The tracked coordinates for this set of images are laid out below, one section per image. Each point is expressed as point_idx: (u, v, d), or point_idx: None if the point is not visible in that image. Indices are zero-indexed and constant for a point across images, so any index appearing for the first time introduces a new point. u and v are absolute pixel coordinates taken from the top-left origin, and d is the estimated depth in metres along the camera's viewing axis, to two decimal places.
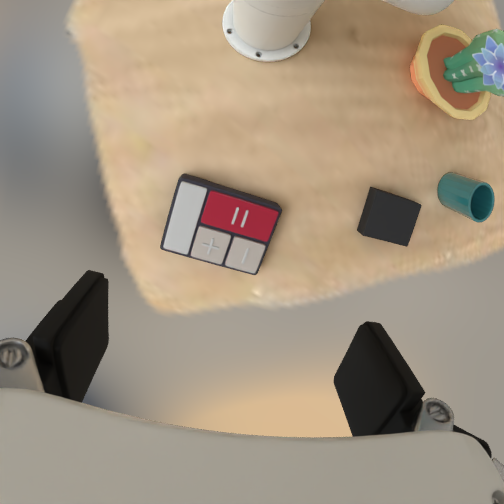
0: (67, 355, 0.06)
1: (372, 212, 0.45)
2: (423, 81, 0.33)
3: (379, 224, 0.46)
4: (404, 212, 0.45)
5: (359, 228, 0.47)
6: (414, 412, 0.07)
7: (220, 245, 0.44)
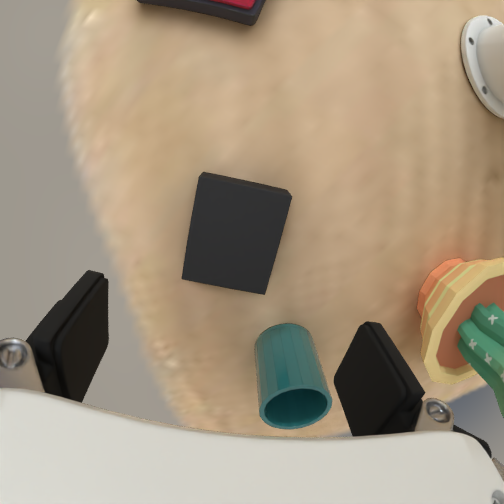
0: (67, 355, 0.06)
1: (248, 192, 0.24)
2: (480, 268, 0.22)
3: (222, 210, 0.24)
4: (248, 261, 0.26)
5: (207, 174, 0.25)
6: (414, 412, 0.07)
7: None
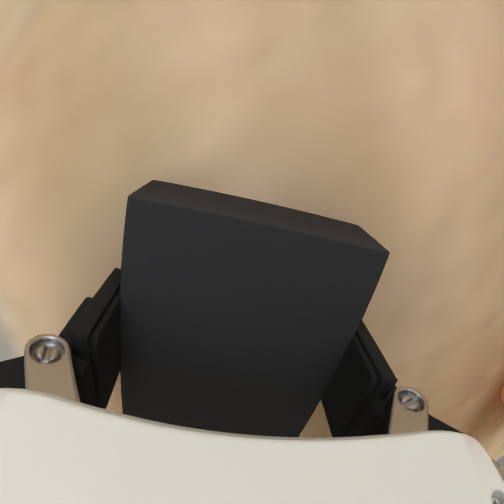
0: (102, 350, 0.07)
1: (274, 241, 0.08)
2: None
3: (199, 290, 0.09)
4: (267, 397, 0.10)
5: (160, 186, 0.09)
6: (387, 400, 0.08)
7: None
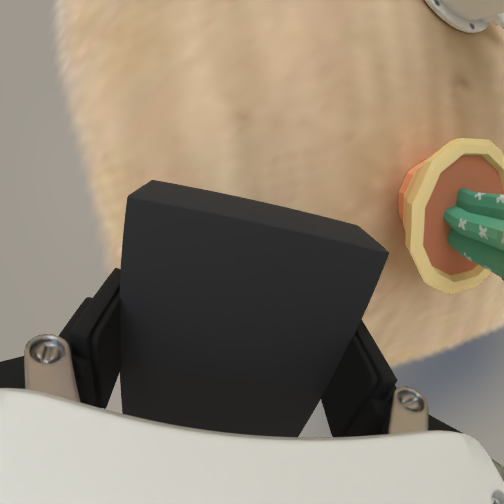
0: (102, 350, 0.07)
1: (274, 241, 0.08)
2: (454, 141, 0.21)
3: (198, 291, 0.09)
4: (266, 397, 0.10)
5: (159, 186, 0.09)
6: (387, 400, 0.08)
7: None
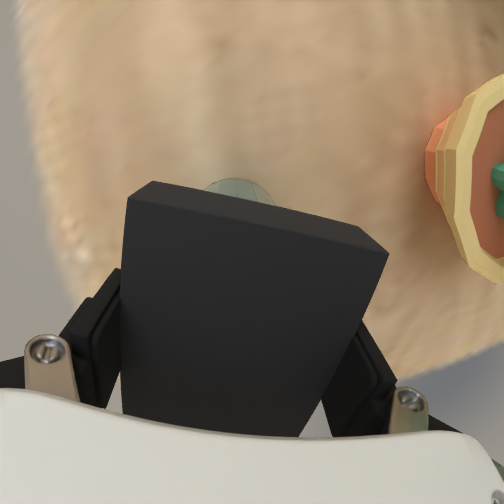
0: (102, 350, 0.07)
1: (274, 242, 0.08)
2: (498, 76, 0.12)
3: (198, 292, 0.09)
4: (267, 398, 0.10)
5: (160, 187, 0.09)
6: (387, 400, 0.08)
7: None
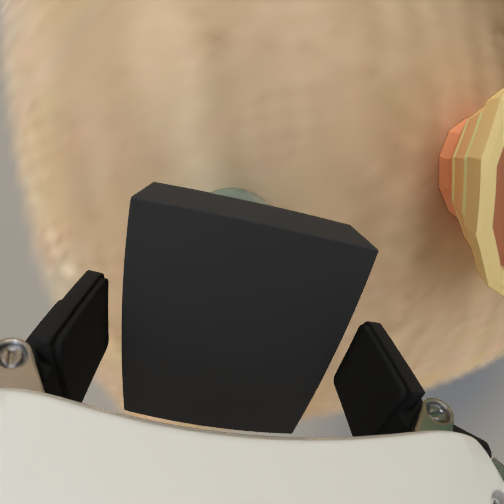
0: (67, 355, 0.06)
1: (267, 240, 0.09)
2: None
3: (197, 286, 0.09)
4: (263, 390, 0.11)
5: (161, 187, 0.10)
6: (414, 412, 0.07)
7: None
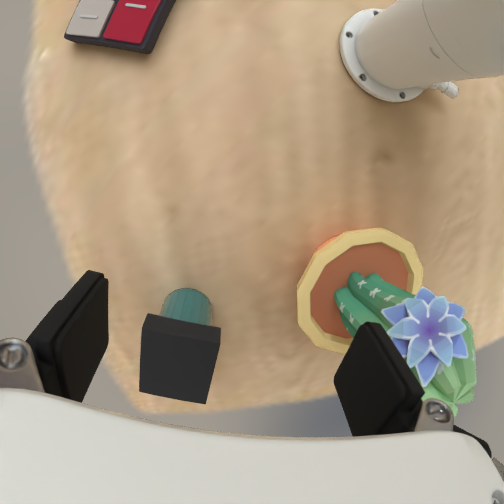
0: (67, 355, 0.06)
1: (182, 340, 0.27)
2: (343, 235, 0.29)
3: (163, 351, 0.28)
4: (189, 384, 0.30)
5: (150, 318, 0.28)
6: (414, 412, 0.07)
7: None
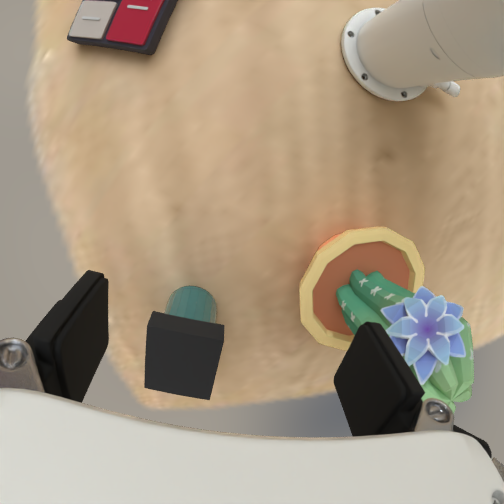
0: (67, 355, 0.06)
1: (187, 337, 0.28)
2: (345, 234, 0.30)
3: (168, 348, 0.29)
4: (193, 380, 0.30)
5: (155, 316, 0.29)
6: (414, 412, 0.07)
7: None
